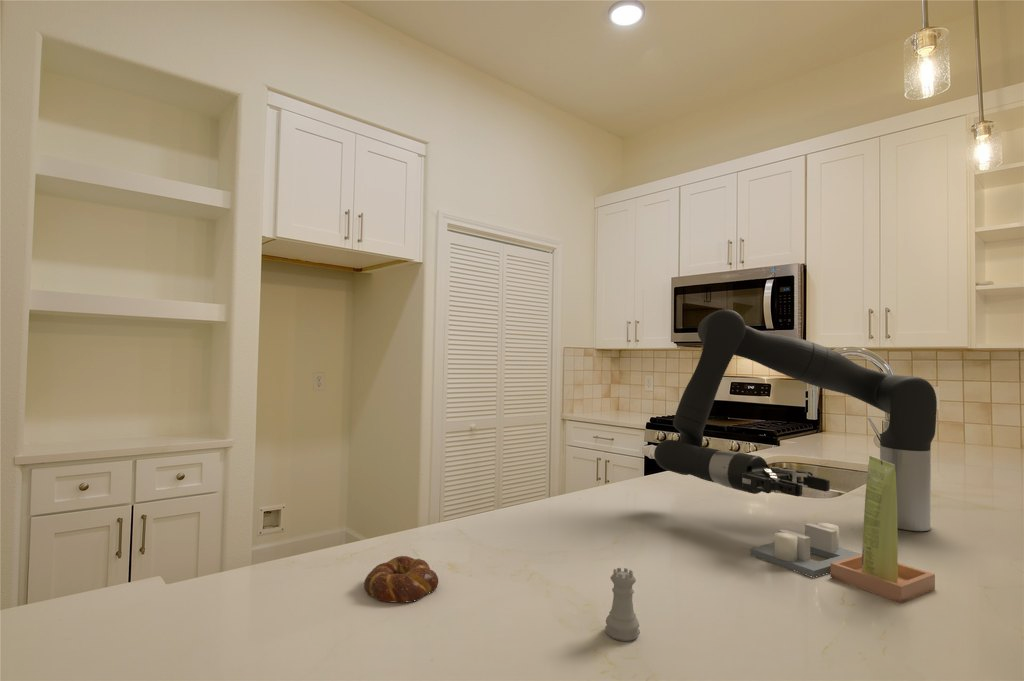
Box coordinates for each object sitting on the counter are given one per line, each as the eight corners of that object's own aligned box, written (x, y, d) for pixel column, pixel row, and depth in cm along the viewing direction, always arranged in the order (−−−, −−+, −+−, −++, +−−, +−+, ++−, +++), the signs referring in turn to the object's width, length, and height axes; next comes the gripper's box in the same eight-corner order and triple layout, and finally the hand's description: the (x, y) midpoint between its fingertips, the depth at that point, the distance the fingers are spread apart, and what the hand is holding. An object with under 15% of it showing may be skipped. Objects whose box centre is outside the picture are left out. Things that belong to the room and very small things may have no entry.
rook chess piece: (601, 625, 74) (602, 565, 74) (633, 625, 74) (634, 564, 74) (609, 643, 69) (610, 578, 69) (644, 642, 70) (645, 578, 70)
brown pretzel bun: (361, 577, 88) (362, 554, 88) (429, 570, 92) (429, 548, 92) (366, 611, 77) (367, 584, 77) (443, 601, 80) (444, 576, 80)
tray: (864, 566, 97) (864, 552, 97) (934, 589, 88) (934, 574, 88) (830, 577, 92) (830, 563, 92) (901, 603, 83) (901, 586, 83)
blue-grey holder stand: (802, 541, 110) (802, 516, 110) (866, 561, 100) (866, 533, 100) (749, 555, 102) (749, 527, 102) (812, 578, 91) (813, 548, 92)
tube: (907, 582, 89) (907, 460, 90) (894, 589, 86) (894, 463, 87) (869, 570, 94) (869, 455, 94) (855, 577, 91) (855, 457, 91)
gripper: (715, 455, 110) (792, 470, 96) (759, 450, 118) (837, 464, 104) (714, 492, 110) (791, 513, 96) (759, 485, 117) (837, 504, 103)
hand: (815, 488), depth 100 cm, fingers open, 8 cm apart
